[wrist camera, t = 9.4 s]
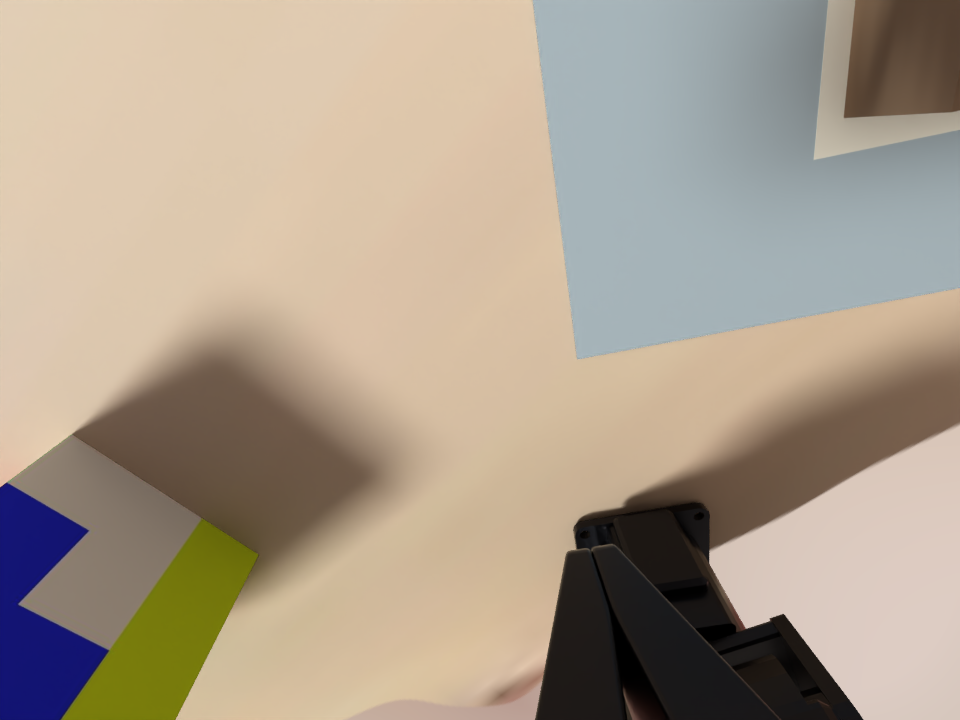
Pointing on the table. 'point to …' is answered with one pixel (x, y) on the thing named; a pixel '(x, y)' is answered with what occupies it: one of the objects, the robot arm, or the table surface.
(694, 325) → the mat
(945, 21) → the tee
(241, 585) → the puzzle toy
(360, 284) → the table surface
